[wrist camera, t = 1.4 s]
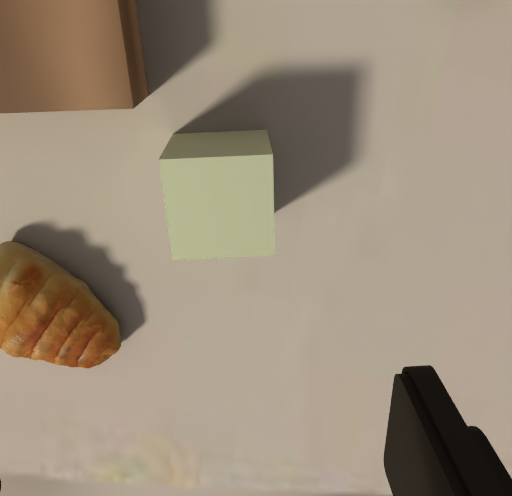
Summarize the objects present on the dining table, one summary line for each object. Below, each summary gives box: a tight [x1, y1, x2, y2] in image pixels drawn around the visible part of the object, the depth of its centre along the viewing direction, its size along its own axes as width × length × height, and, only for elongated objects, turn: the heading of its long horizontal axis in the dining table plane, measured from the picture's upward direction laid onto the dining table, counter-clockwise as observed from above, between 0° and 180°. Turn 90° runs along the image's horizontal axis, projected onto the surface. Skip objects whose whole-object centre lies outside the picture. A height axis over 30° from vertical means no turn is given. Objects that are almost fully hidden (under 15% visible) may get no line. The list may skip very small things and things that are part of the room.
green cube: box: [159, 130, 275, 260], centre depth 23 cm, size 5×5×5 cm
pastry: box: [0, 241, 121, 368], centre depth 27 cm, size 9×7×4 cm
